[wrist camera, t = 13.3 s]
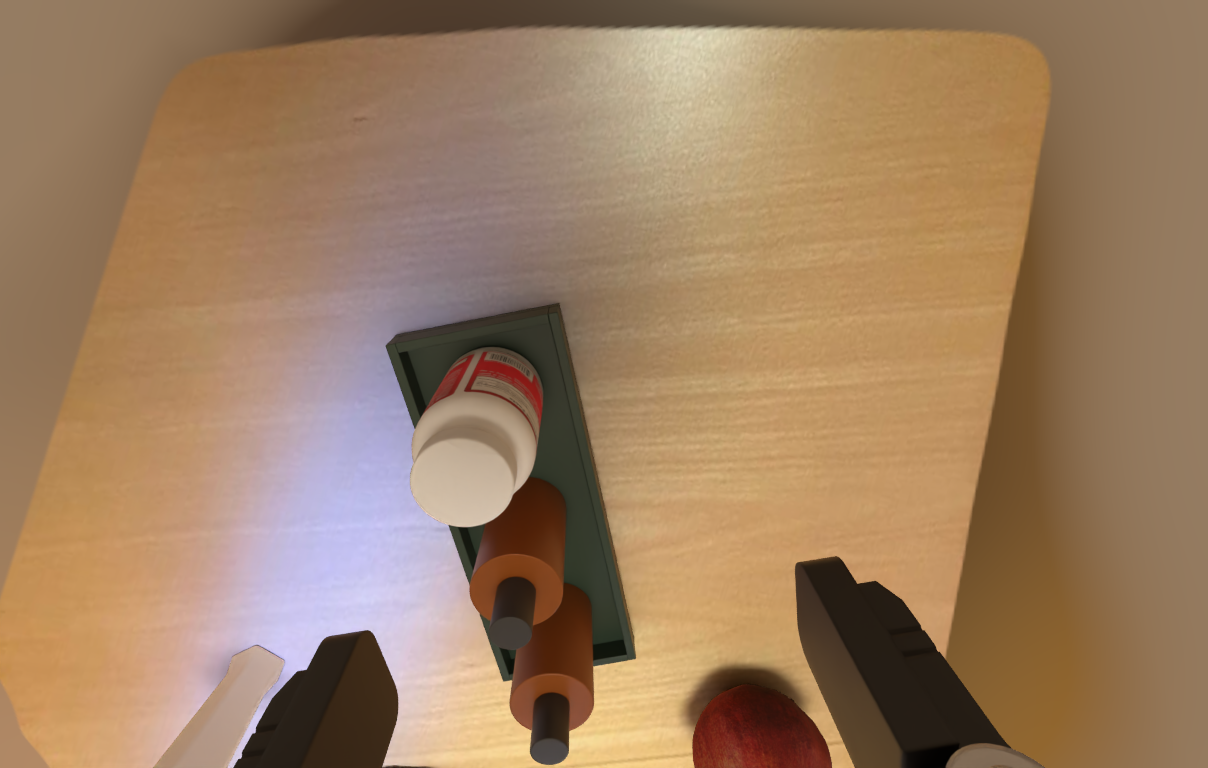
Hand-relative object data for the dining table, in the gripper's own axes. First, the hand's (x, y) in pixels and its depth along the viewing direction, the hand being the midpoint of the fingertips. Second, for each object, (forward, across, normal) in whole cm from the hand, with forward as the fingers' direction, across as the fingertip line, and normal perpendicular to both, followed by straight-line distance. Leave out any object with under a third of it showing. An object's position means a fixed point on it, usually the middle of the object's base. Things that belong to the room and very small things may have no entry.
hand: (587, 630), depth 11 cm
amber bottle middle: (+25, +6, +14) cm, 29 cm away
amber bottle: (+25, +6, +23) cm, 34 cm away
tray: (+26, +6, +14) cm, 30 cm away
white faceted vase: (+26, +30, +24) cm, 46 cm away
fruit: (+26, -7, +36) cm, 45 cm away
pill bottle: (+25, +6, +5) cm, 27 cm away
